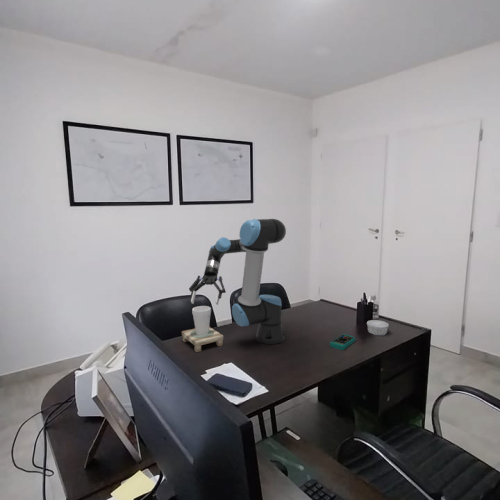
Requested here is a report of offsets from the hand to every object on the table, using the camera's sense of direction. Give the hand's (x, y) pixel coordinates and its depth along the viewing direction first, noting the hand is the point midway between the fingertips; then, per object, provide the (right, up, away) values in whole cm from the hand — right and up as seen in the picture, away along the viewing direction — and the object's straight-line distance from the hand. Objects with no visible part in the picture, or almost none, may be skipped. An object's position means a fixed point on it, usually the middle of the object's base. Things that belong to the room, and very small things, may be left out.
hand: (204, 303), depth 178 cm
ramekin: (+94, -17, +7) cm, 96 cm away
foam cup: (0, -15, -4) cm, 16 cm away
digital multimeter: (+71, -20, -8) cm, 74 cm away
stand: (-1, -20, -4) cm, 20 cm away
